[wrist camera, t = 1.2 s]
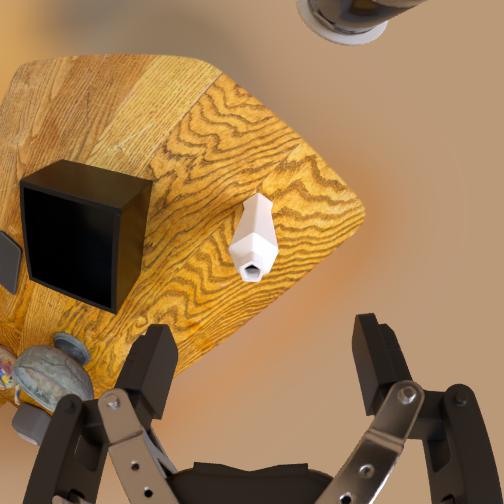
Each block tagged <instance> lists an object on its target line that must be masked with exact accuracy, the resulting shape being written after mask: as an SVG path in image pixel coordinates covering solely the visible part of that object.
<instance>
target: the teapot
mask: <svg viewBox="0 0 504 504" xmlns="http://www.w3.org/2000/svg"><path fill="white" fill-rule="evenodd" d="M17 359H18V358H17V356H16V355H15V354H14V353H13V352H12V351H11V350H10V349H9V348H8V347H6V346H4V345H0V389H2V390H4V389H5V388H12V387H15V403H16V404H18V405H20V403H19V395H20V392H21V387H20V386H19V385H18V384H17V382H16V381H15V380H14V378H13V376H12V374H11V370H12V369H13V366H14V364H15V362H16V360H17Z"/></svg>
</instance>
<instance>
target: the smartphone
mask: <svg viewBox="0 0 504 504" xmlns="http://www.w3.org/2000/svg"><path fill="white" fill-rule="evenodd" d="M21 256H22V249H21V247H20V246H19V245H18V244H17V243H16V242H14V241H13V240H12V239H11V238H10V237H9V236H8V235H7V234H6V233H5V232H3V231H0V284H1V285H2V286H3V287H4V288H5V289H7V290H8V291H9V292H10V293H11V294H13V295H15V294H16V290H17V289H16V288H17V282H18V274H19V267H20V261H21Z"/></svg>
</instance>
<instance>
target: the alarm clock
mask: <svg viewBox="0 0 504 504" xmlns="http://www.w3.org/2000/svg"><path fill="white" fill-rule="evenodd" d="M50 420H51V417H50V415H49V414H48V413H47V412H46V411H44V410H43V409H40V408H38V407H35V406H33V405H30V404H28V403H21V404H20V406H19V408H18V410H17V412H16V414H15V416H14V418H13V420H12V426H13V428H14V429H15V430H16V431H17V432H18V435H19V436H20V437H21V438H23V439H25V440H27V441H29V442H31V443H33V444H35V445H39V446H41V443H42V441H43V438H44V435H45V433H46V430H47V427H48V425H49V422H50Z"/></svg>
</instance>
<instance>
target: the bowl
mask: <svg viewBox="0 0 504 504" xmlns="http://www.w3.org/2000/svg"><path fill="white" fill-rule="evenodd" d="M54 345H55V347H56V348H55V347H52V346H48V345H38V346H32V347H29V348H27V349H26V350H24V351H23V352H22V354H21V355H20V356H19V358H18V359H17V360H16V362H15V364H14V366H13V369H12V370H11V374H12V376H13V378H14V380H15V381H16V382H17V384H18V385H19V386H20V387H21V388H22V389H23V390H24V391H25V392H26V393H27V394H28V395H29V396H30V397H32V398H33V399H34V400H36V401H37V402H38V403H39V404H41V405H42V406H44V407H45V408H47V409H49V410H51V411H52V412H54V410H55V408H56V405H57V403H58V401H59V400H60V399H61V398H62V397H63V396H65V395H67V394H76V395H77V396H79V397H80V399H81V400H82V401H87V400H94V390H93V386H92V382H91V379H90V376H89V374H88V373H87V371H86V370H85V369H84V368H83V367H82V366H81V365H86V364H88V363H89V361H90V353H89V351H88V350H87V348H86V347H85V345H84V344H83V343H82V342H80V341H79V340H78V339H76V338H75V337H73V336H71V335H69V334H67V333H61V332H60V333H56V335H55V337H54Z"/></svg>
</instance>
